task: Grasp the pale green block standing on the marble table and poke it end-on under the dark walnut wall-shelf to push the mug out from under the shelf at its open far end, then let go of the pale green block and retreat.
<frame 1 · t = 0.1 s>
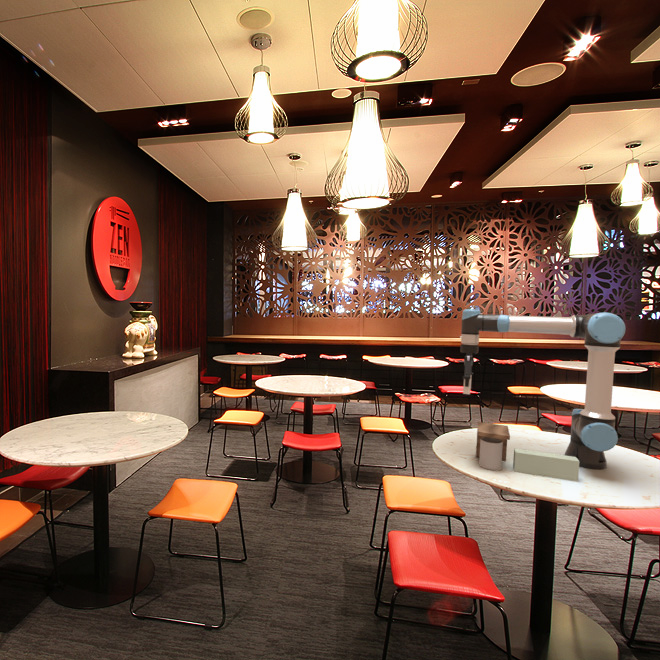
hand: (467, 391, 170), 28 cm above the table, fingers open, 13 cm apart
mug: (489, 465, 159), on the table
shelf: (490, 464, 159), on the table
pale green block: (544, 474, 151), on the table
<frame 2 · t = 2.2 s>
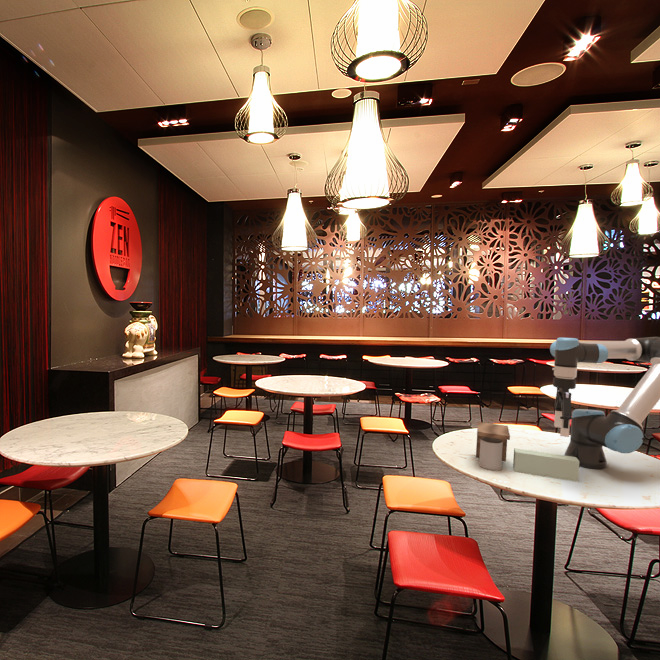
hand: (561, 431, 149), 18 cm above the table, fingers open, 13 cm apart
nothing on the table moved.
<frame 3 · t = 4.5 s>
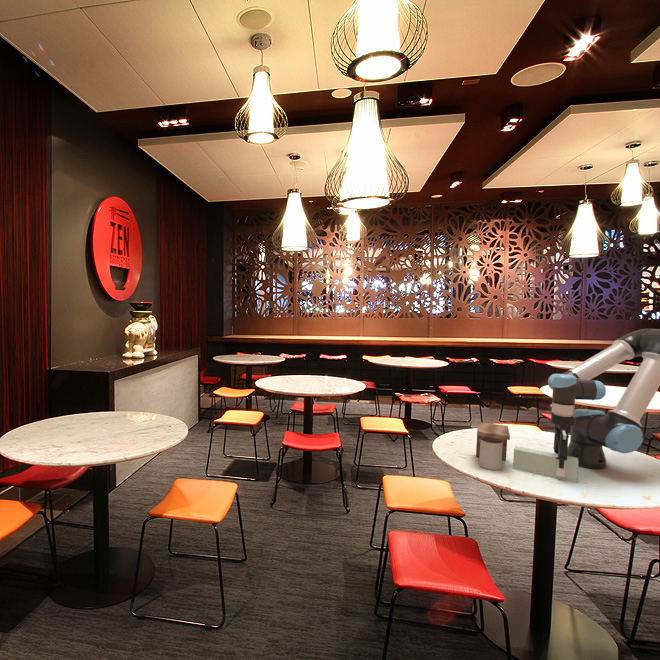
hand: (558, 472, 149), 1 cm above the table, fingers closed on pale green block, 6 cm apart
pale green block: (544, 473, 152), on the table, touching gripper
everything else where it was.
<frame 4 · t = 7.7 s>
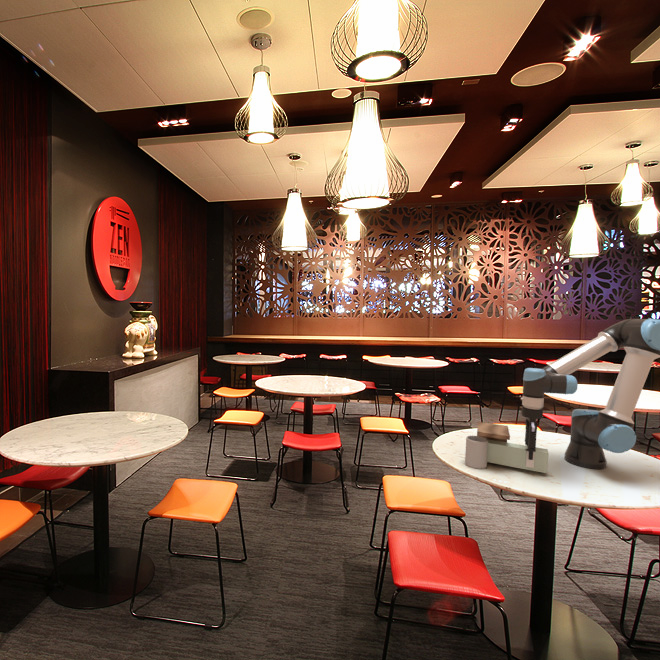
hand: (528, 464, 153), 3 cm above the table, fingers closed on pale green block, 5 cm apart
mug: (475, 463, 160), on the table
pale green block: (515, 465, 155), point 1 cm above the table, touching gripper
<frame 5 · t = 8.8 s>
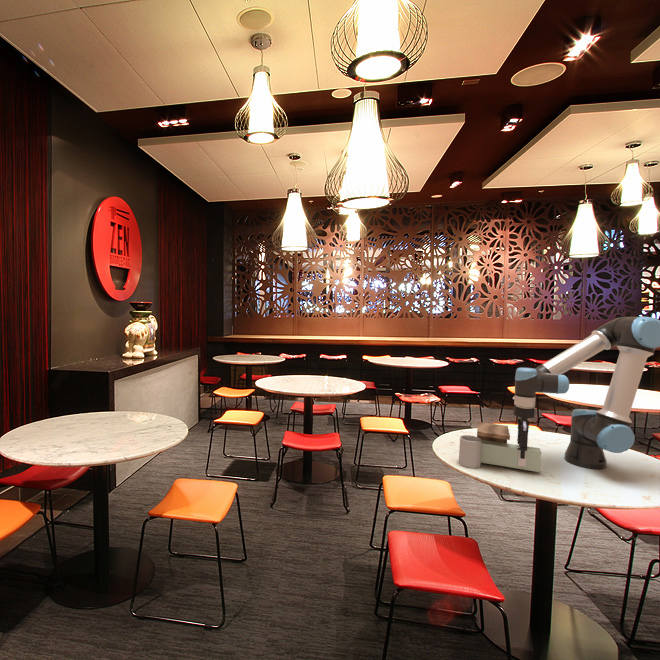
hand: (521, 463, 154), 3 cm above the table, fingers closed on pale green block, 5 cm apart
mug: (469, 463, 160), on the table, touching pale green block
pale green block: (509, 464, 156), point 1 cm above the table, touching gripper, mug
when the fingers open (3 cm above the table, at t = 10.1 s): pale green block drops 1 cm, on the table.
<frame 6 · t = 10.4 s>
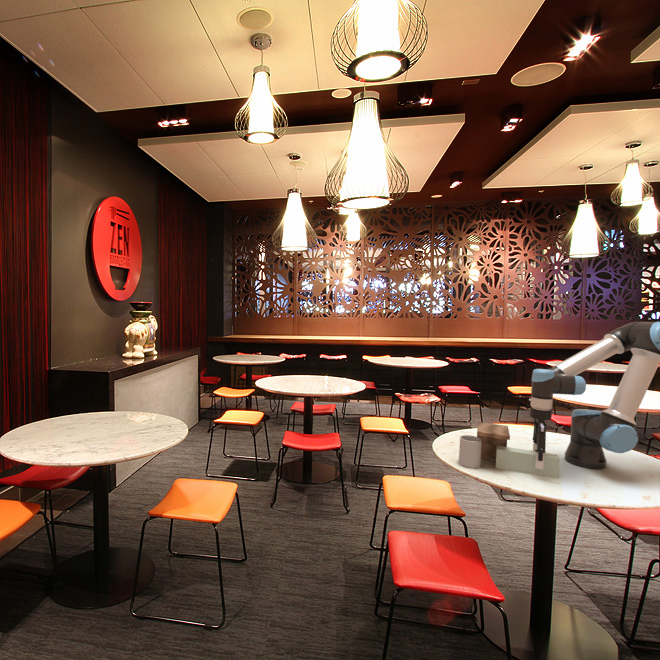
hand: (537, 464, 152), 4 cm above the table, fingers open, 9 cm apart
mug: (469, 463, 160), on the table
pale green block: (525, 471, 154), on the table
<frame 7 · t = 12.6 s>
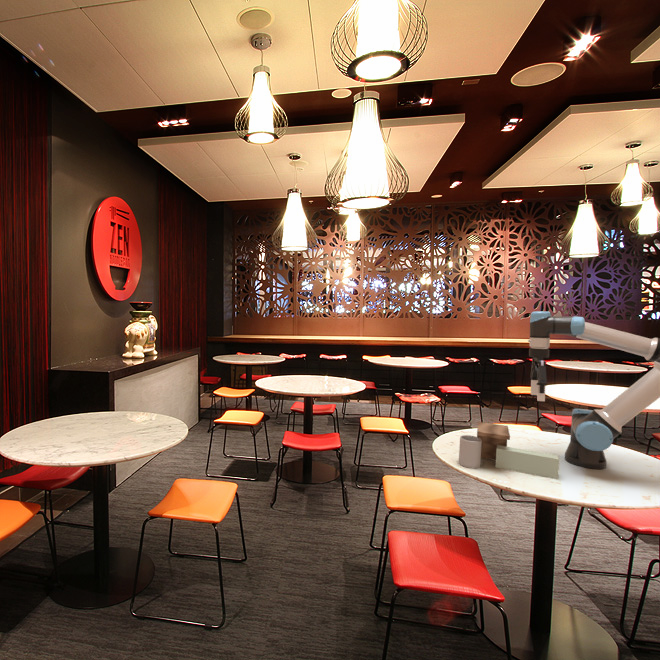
hand: (537, 397, 162), 28 cm above the table, fingers open, 13 cm apart
nothing on the table moved.
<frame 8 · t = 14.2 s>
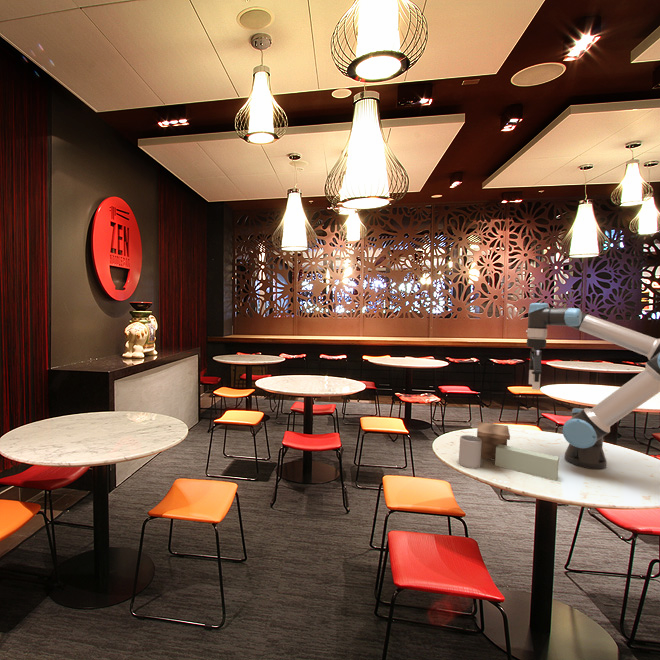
hand: (533, 386, 167), 32 cm above the table, fingers open, 13 cm apart
at the end: mug inside the target area (6.3 cm from its centre), on the table; mug tilted 0° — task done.
